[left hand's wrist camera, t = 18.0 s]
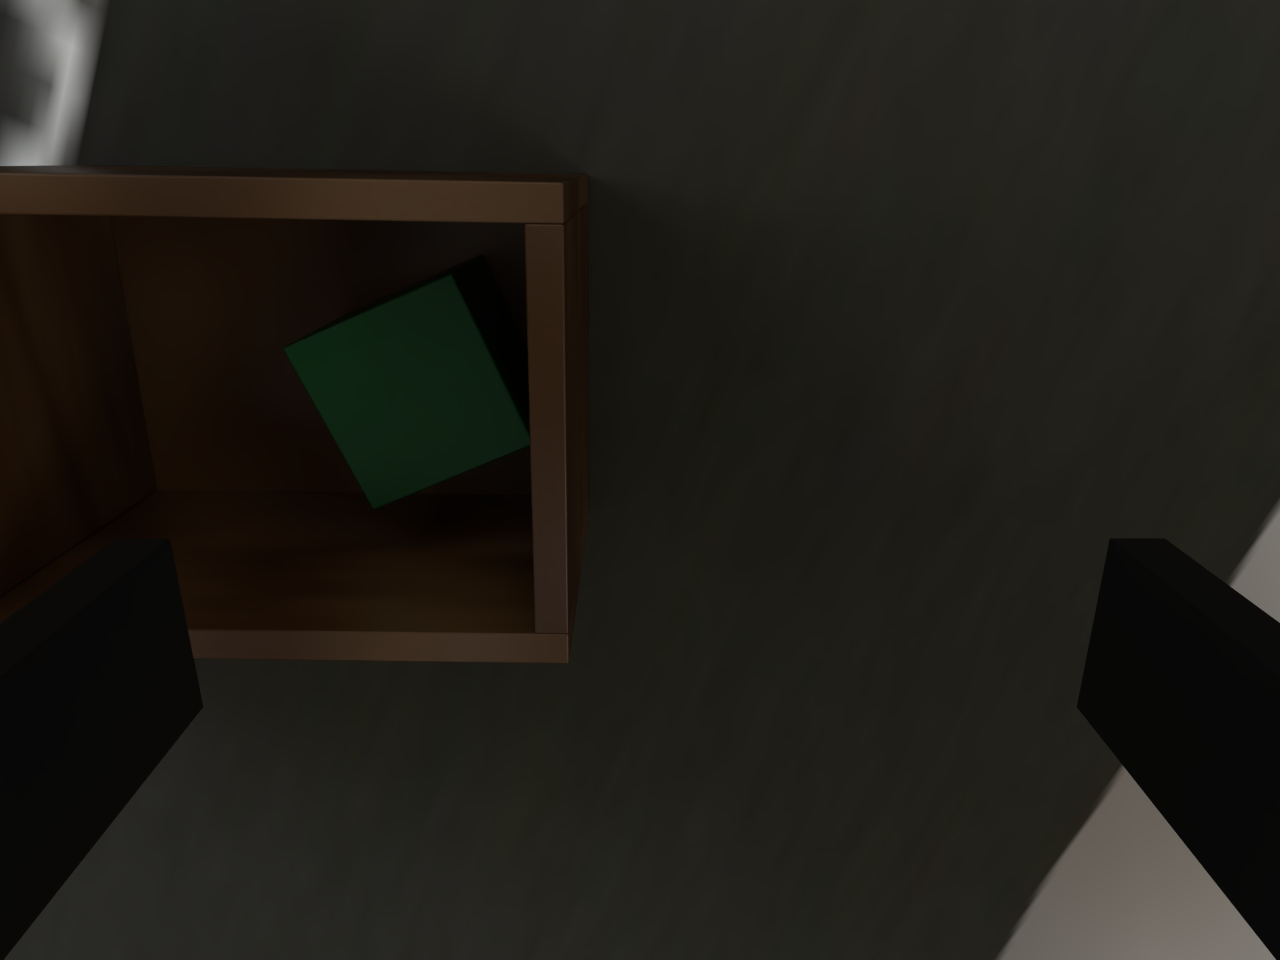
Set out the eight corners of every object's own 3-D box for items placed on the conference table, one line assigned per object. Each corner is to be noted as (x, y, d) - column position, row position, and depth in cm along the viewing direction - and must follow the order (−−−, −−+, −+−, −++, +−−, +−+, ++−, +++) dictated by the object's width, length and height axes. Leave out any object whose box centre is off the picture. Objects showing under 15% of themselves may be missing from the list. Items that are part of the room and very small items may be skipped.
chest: (588, 174, 30) (563, 182, 20) (589, 509, 34) (568, 663, 24) (89, 165, 30) (-205, 168, 20) (150, 503, 34) (-67, 655, 24)
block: (482, 253, 30) (451, 272, 25) (550, 398, 32) (534, 444, 27) (340, 316, 31) (281, 348, 26) (414, 455, 33) (372, 510, 28)
